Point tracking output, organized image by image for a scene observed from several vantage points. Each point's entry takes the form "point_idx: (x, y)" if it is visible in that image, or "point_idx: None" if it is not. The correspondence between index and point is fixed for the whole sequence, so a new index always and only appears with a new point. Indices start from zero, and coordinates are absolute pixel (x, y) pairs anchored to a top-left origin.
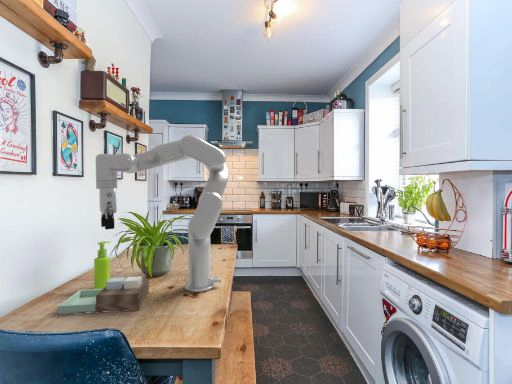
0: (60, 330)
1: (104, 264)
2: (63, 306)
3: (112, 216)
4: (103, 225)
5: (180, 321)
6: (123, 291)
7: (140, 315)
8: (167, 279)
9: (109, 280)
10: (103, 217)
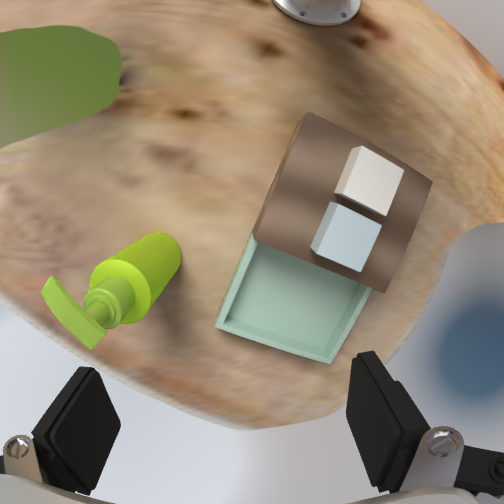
0: (406, 335)
1: (156, 277)
2: (336, 353)
3: (474, 449)
4: (113, 421)
5: (485, 127)
6: (397, 218)
7: (434, 184)
8: (173, 44)
9: (347, 262)
10: (85, 482)
